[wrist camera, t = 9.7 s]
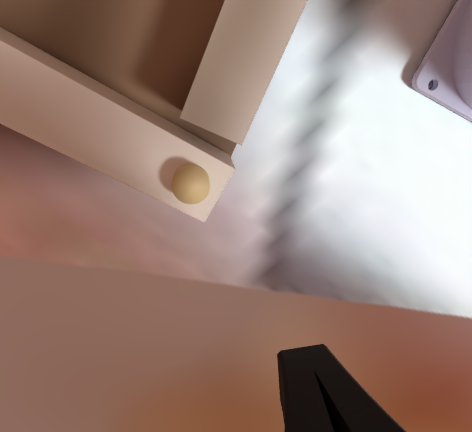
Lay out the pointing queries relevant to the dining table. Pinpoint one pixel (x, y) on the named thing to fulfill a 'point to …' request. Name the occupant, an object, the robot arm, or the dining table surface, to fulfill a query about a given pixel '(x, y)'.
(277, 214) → the dining table surface
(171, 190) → the hinged leg
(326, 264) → the dining table surface
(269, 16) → the stool seat
